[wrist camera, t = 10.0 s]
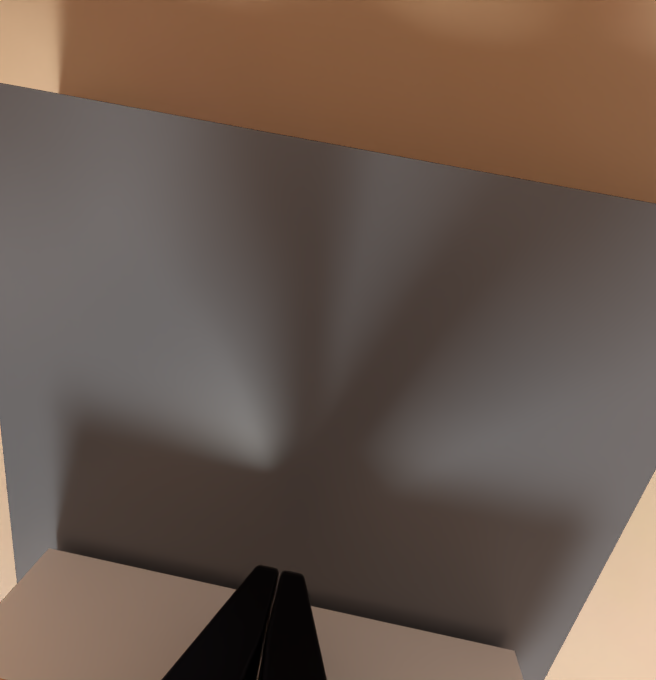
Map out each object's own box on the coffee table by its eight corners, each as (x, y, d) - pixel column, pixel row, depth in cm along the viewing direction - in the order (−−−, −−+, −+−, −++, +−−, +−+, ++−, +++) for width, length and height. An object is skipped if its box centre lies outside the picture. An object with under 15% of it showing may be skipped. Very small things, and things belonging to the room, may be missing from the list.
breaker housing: (488, 656, 12) (510, 743, 10) (74, 565, 12) (22, 632, 11) (685, 218, 8) (784, 227, 6) (56, 101, 8) (-37, 76, 6)
